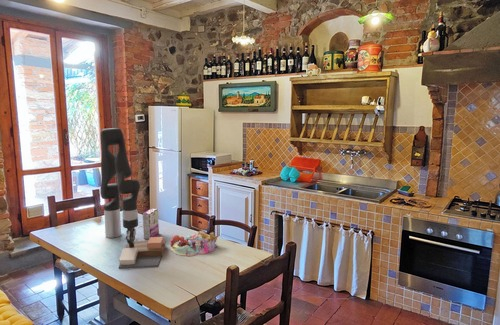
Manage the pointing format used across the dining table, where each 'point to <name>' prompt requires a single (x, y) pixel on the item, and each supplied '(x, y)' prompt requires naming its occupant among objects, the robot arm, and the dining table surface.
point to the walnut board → (146, 252)
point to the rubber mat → (143, 262)
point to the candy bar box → (150, 223)
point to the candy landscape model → (194, 244)
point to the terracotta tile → (155, 242)
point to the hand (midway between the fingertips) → (131, 249)
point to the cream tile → (128, 256)
